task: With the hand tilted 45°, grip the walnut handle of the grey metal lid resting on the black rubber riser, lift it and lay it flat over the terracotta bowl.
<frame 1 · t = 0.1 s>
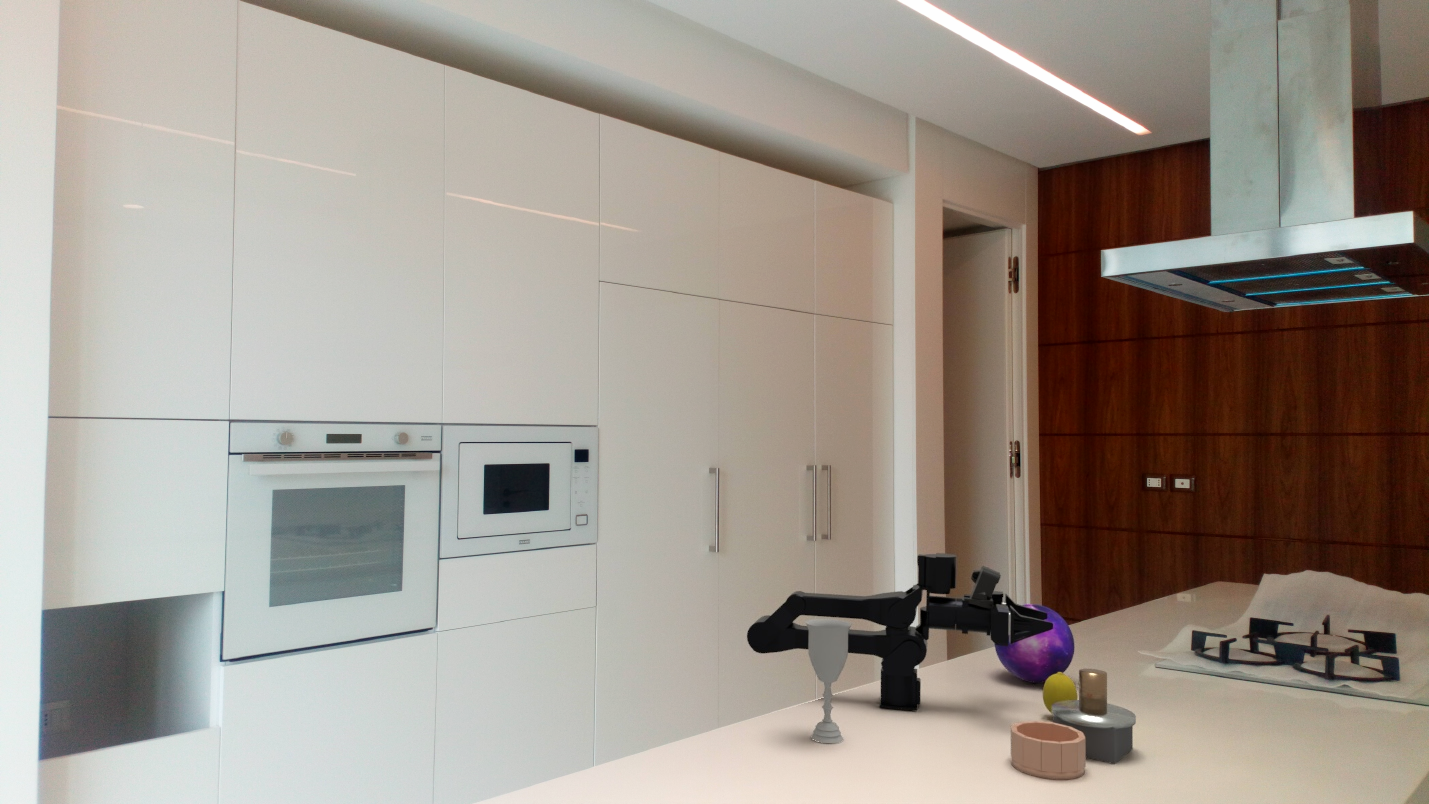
hand: (1050, 620, 156), 17 cm above the counter, tool horizontal, fingers open, 9 cm apart
chalice: (827, 739, 142), on the counter
lemon: (1059, 720, 155), on the counter
lid: (1093, 716, 140), point 5 cm above the counter, touching riser
riser: (1093, 748, 140), on the counter
decorative orb: (1033, 682, 179), on the counter
bowl: (1047, 766, 132), on the counter
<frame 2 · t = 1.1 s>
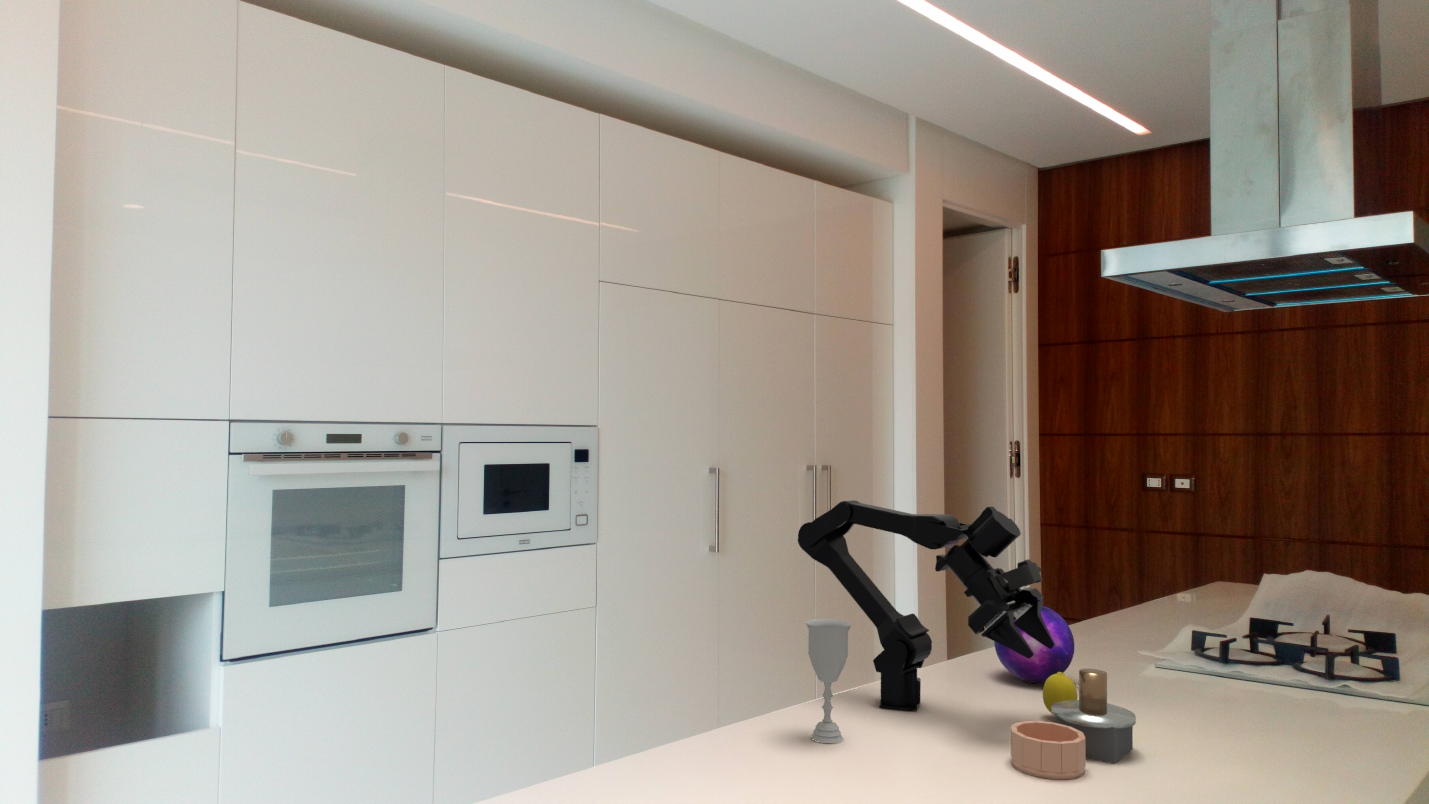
hand: (1042, 651, 145), 14 cm above the counter, tool tilted 45°, fingers open, 9 cm apart
nothing on the counter moved.
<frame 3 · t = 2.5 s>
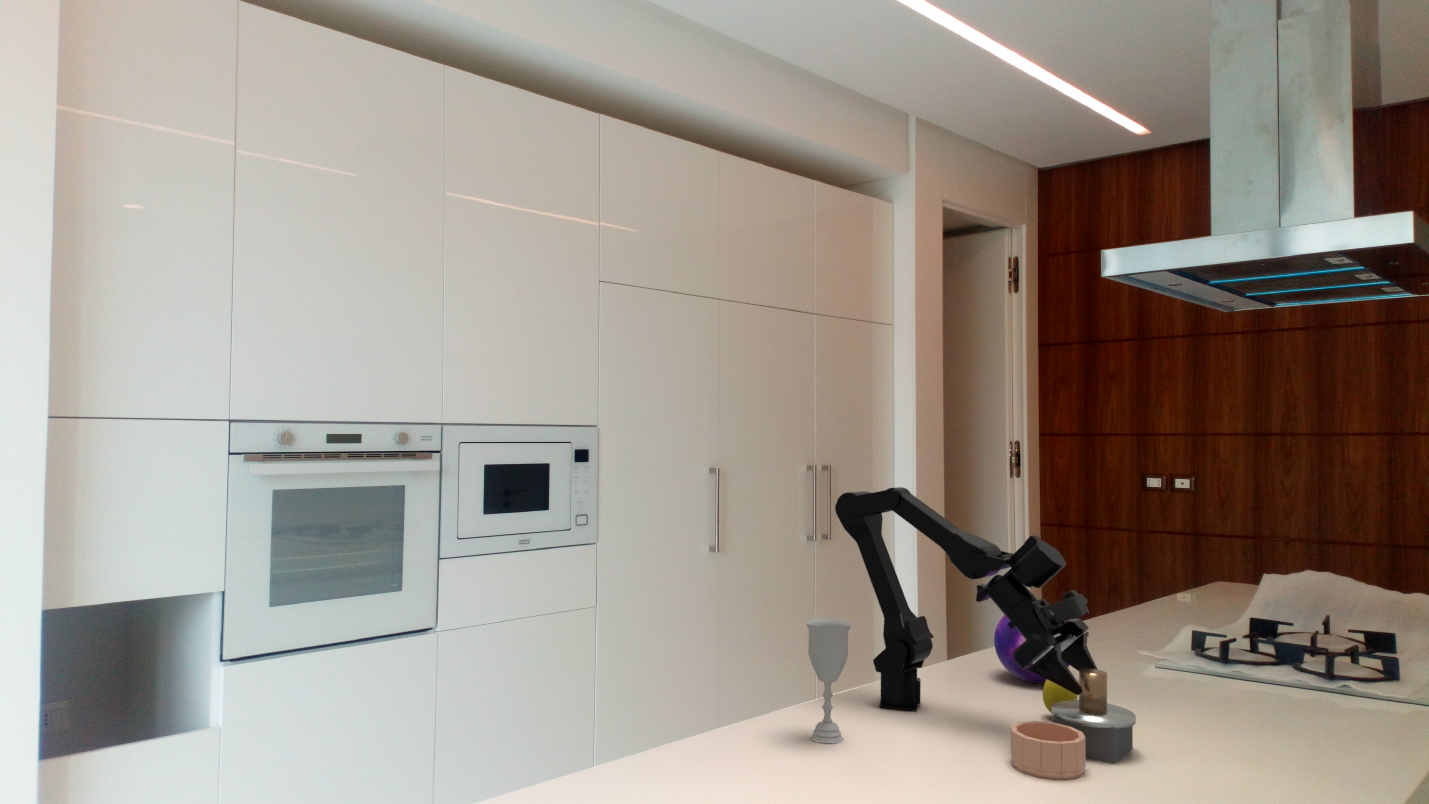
hand: (1090, 687, 140), 9 cm above the counter, tool tilted 45°, fingers open, 9 cm apart
nothing on the counter moved.
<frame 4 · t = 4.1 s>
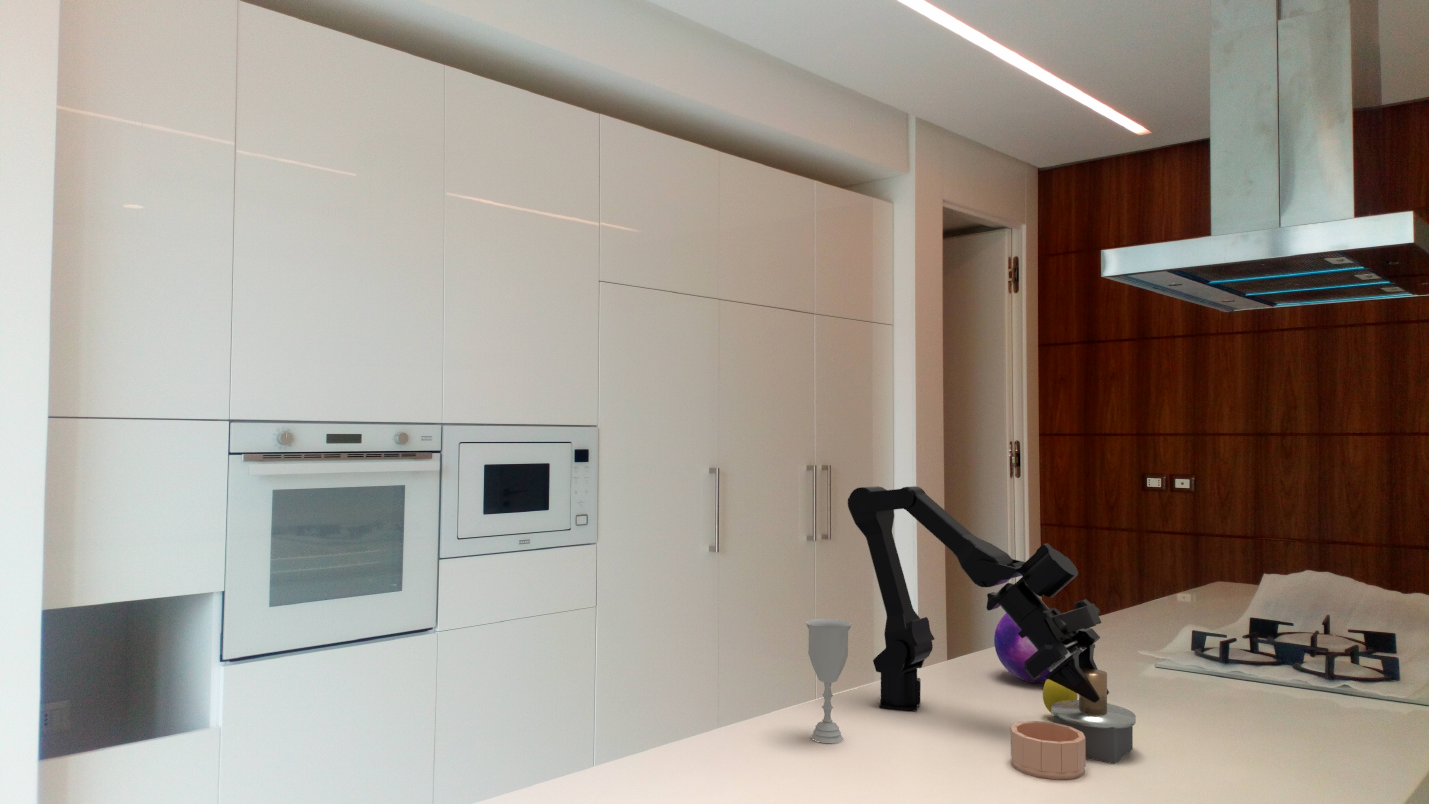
hand: (1102, 697, 139), 8 cm above the counter, tool tilted 45°, fingers closed on lid, 4 cm apart
lid: (1093, 716, 140), point 5 cm above the counter, touching gripper, riser
everything else where it was.
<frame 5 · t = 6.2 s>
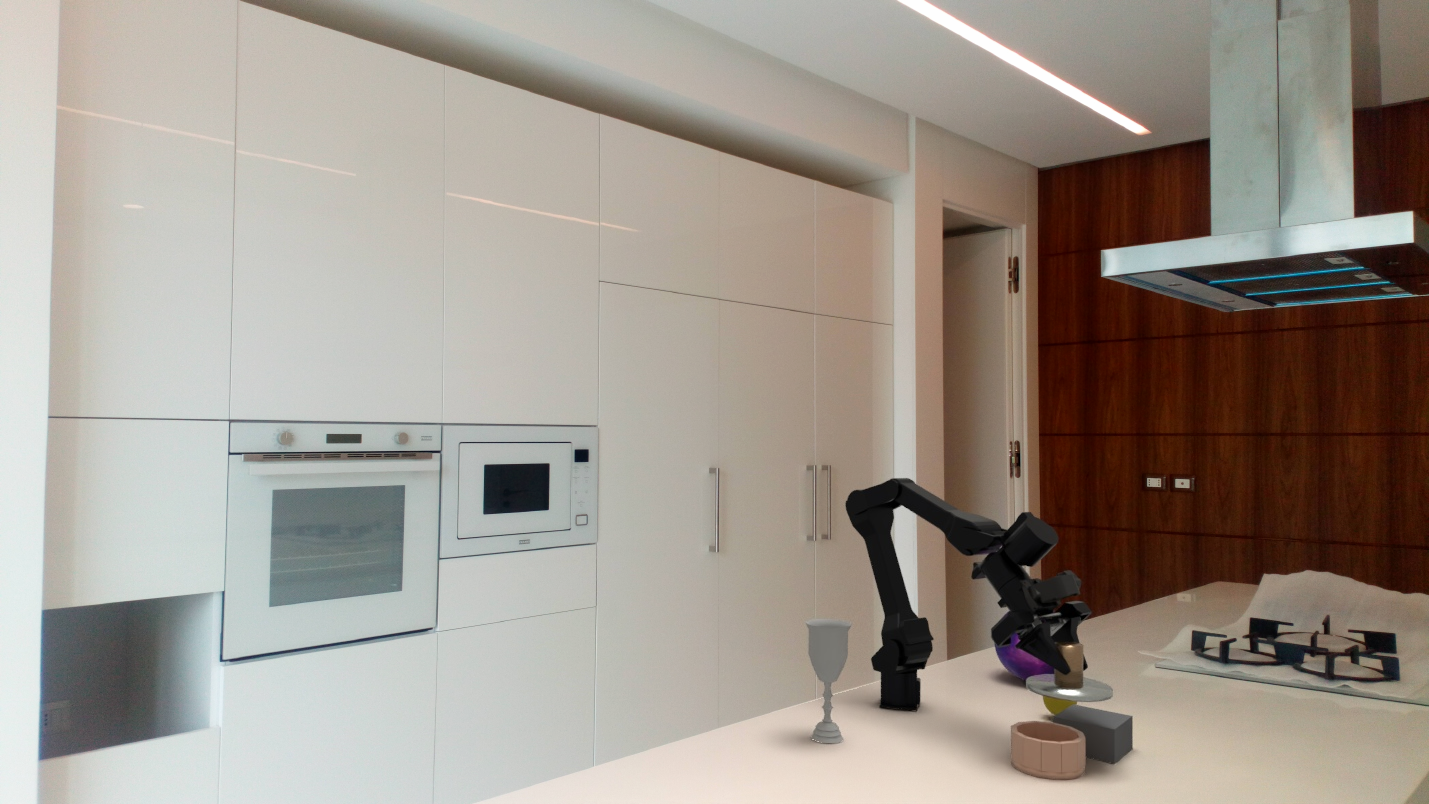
hand: (1077, 671, 134), 13 cm above the counter, tool tilted 45°, fingers closed on lid, 4 cm apart
lid: (1068, 690, 135), point 10 cm above the counter, touching gripper
everything else where it was.
when the fingers open (9 cm above the counter, at t = 8.4 s): lid stays where it is, resting on bowl.
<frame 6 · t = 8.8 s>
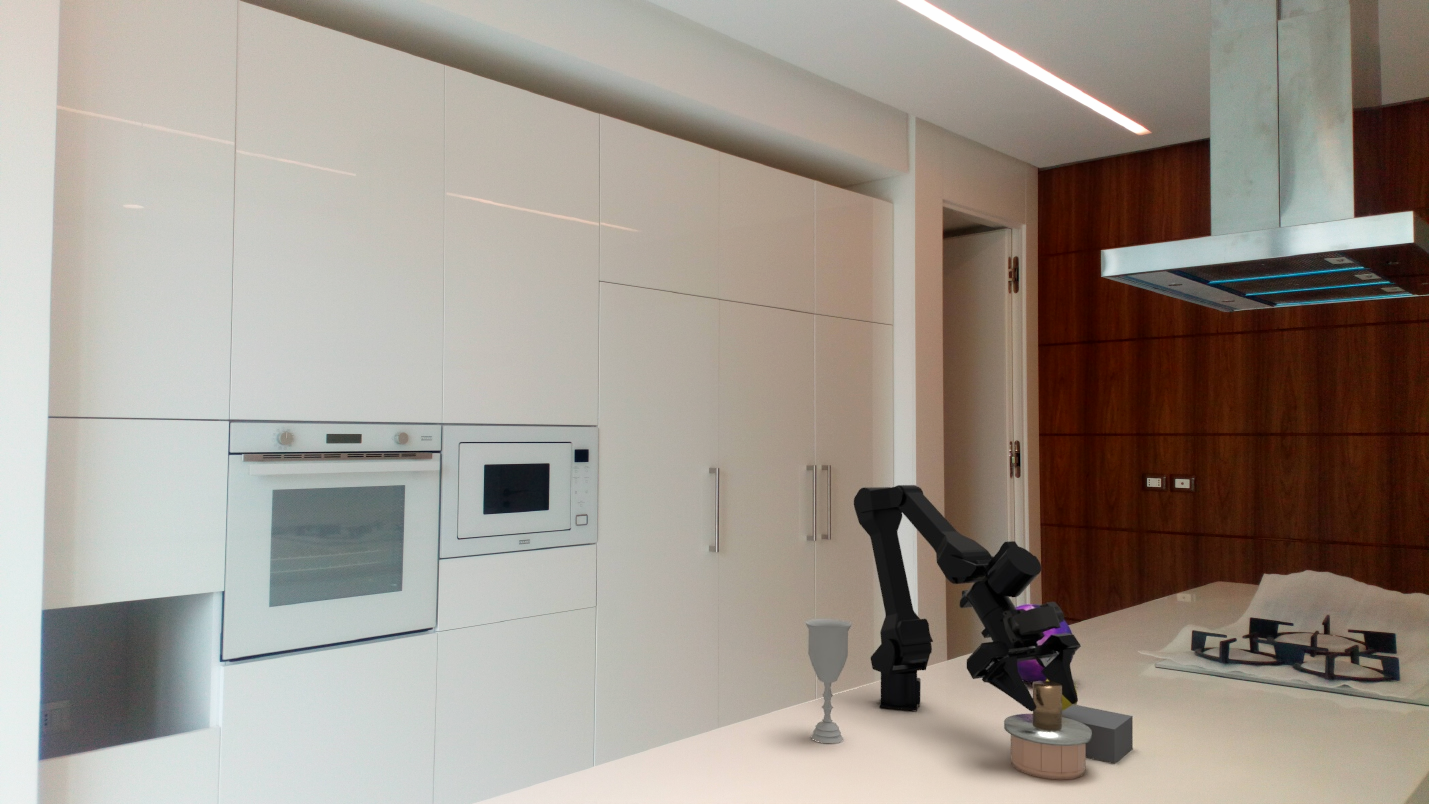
hand: (1055, 706, 131), 9 cm above the counter, tool tilted 45°, fingers open, 8 cm apart
lid: (1047, 731, 132), point 5 cm above the counter, touching bowl
everything else where it was.
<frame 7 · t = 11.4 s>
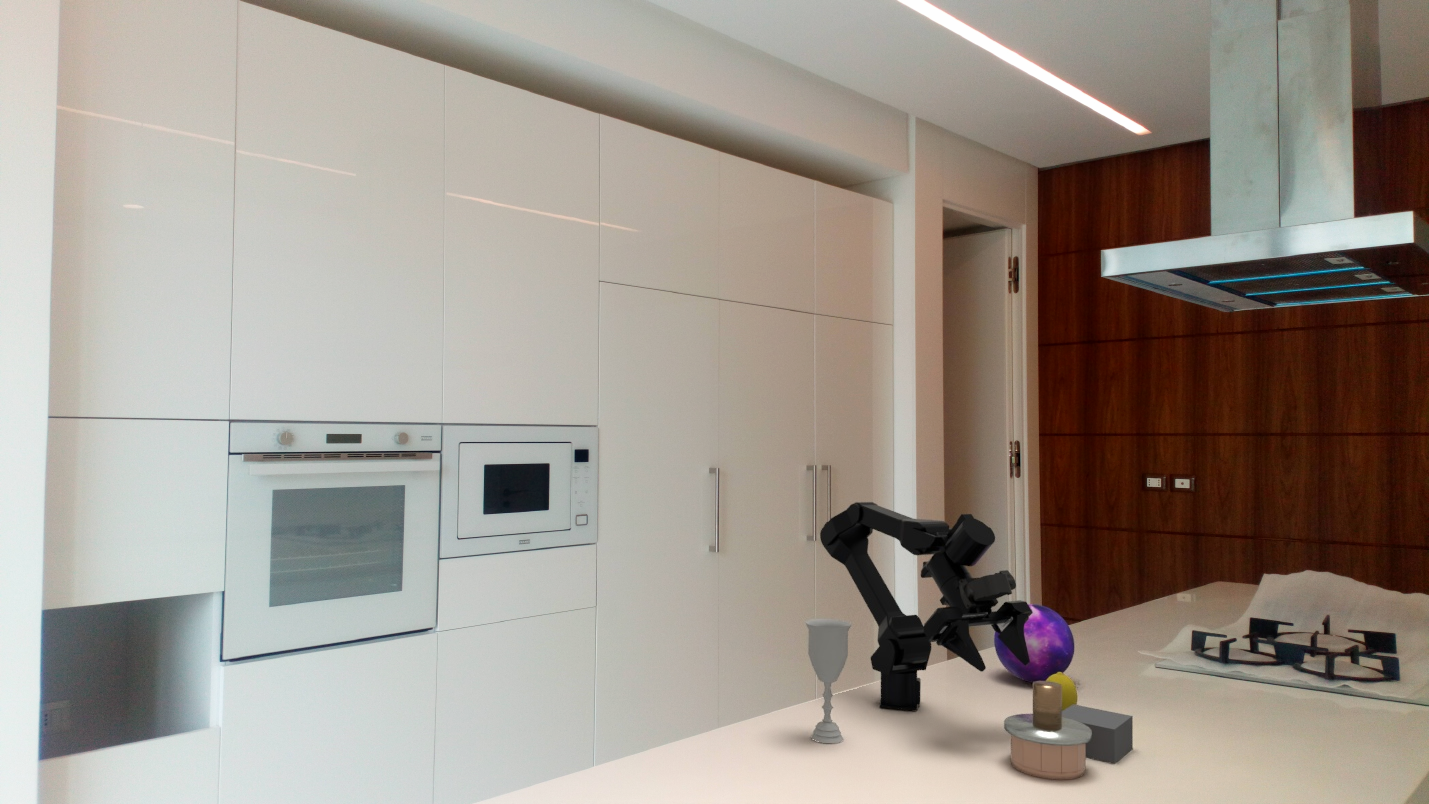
hand: (1006, 666, 139), 13 cm above the counter, tool tilted 45°, fingers open, 9 cm apart
nothing on the counter moved.
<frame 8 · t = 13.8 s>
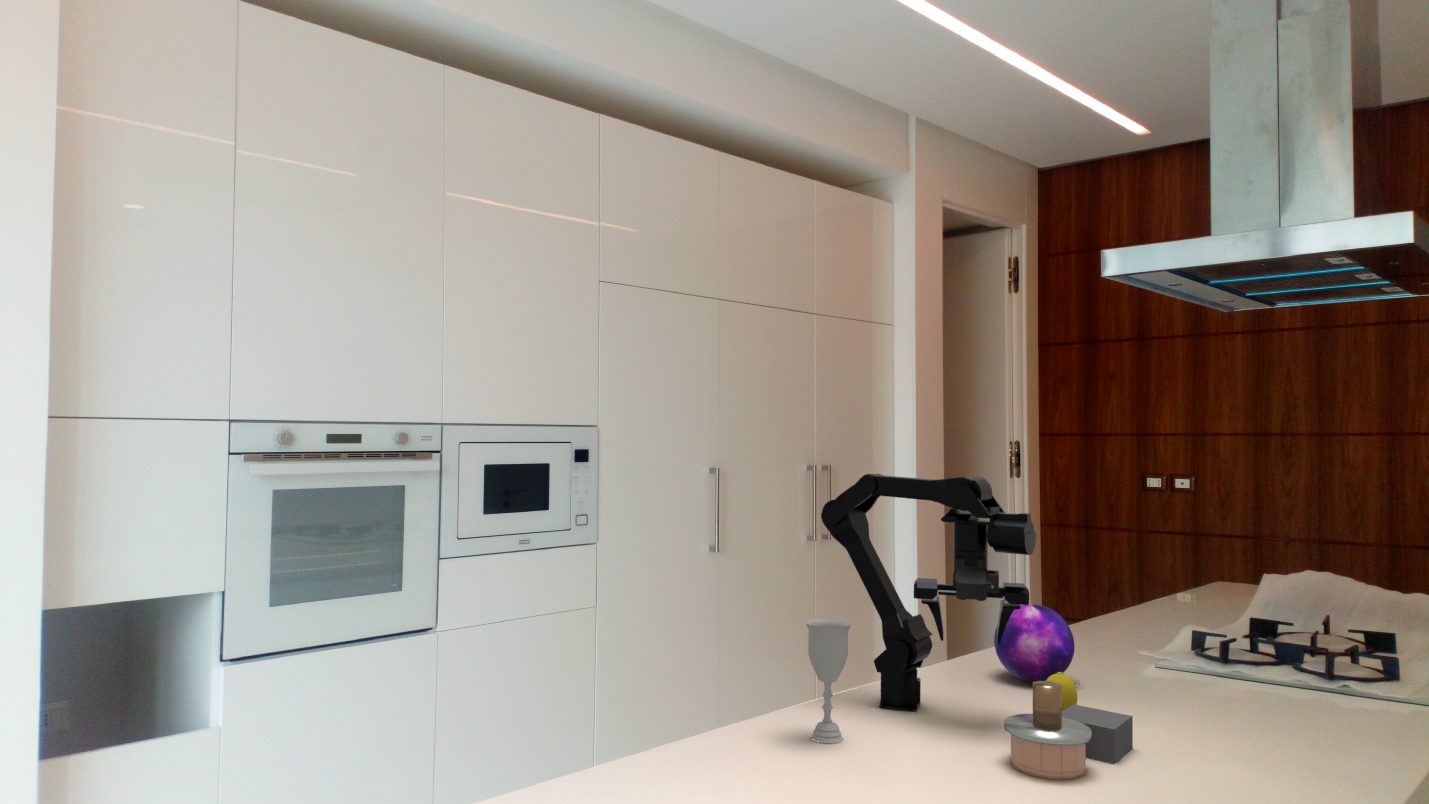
hand: (969, 642, 154), 13 cm above the counter, tool pointing down, fingers open, 9 cm apart
nothing on the counter moved.
at the end: lid 0.0 cm off-centre on the bowl, point 5.0 cm above the bowl's base; lid tilted 0°; the gripper is holding nothing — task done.
